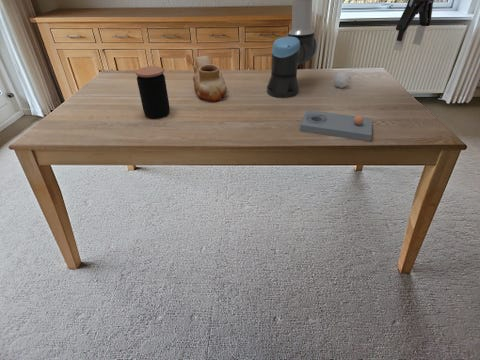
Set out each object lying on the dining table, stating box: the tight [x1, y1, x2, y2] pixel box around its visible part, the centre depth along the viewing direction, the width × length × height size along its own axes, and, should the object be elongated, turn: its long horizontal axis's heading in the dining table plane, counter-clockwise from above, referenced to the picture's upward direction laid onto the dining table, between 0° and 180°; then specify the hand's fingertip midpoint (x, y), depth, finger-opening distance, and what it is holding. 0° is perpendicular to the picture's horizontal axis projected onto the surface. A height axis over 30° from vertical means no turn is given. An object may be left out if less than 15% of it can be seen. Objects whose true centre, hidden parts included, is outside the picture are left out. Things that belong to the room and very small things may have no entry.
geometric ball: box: [333, 70, 351, 89], centre depth 149 cm, size 8×8×8 cm
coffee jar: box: [134, 65, 171, 120], centre depth 123 cm, size 11×11×18 cm
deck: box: [299, 109, 373, 142], centre depth 116 cm, size 25×14×2 cm, turn 71°
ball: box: [354, 115, 364, 125], centre depth 113 cm, size 3×3×3 cm
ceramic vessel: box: [192, 55, 228, 103], centre depth 143 cm, size 14×26×15 cm, turn 18°
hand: (407, 47), depth 117 cm, fingers open, 13 cm apart
